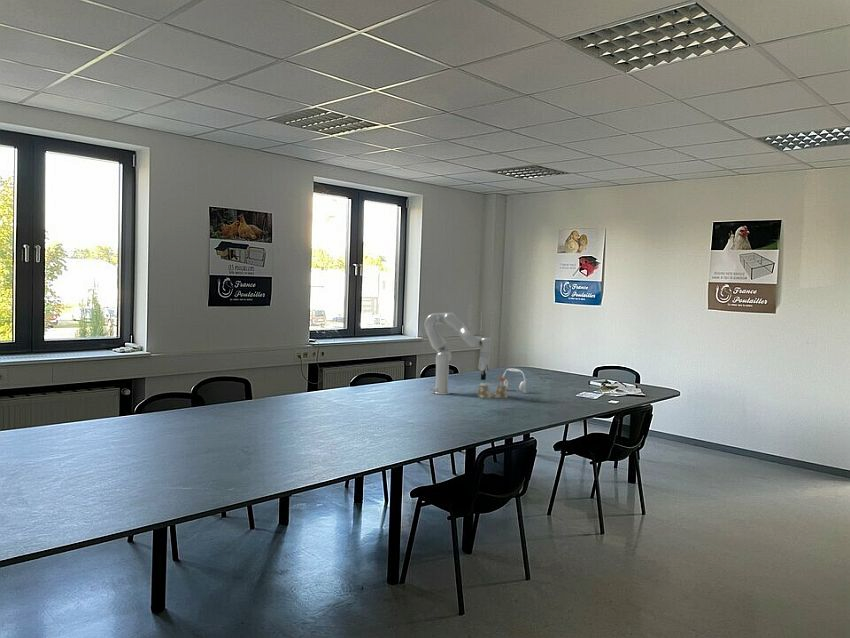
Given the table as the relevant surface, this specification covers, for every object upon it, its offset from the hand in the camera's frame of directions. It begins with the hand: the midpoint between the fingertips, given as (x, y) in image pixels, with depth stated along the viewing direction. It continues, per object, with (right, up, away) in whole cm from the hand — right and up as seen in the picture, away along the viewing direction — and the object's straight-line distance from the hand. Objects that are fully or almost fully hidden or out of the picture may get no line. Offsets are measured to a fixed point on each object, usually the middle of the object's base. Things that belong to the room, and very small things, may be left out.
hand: (483, 379), depth 464 cm
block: (+7, -13, +3) cm, 15 cm away
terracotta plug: (+14, -7, +4) cm, 16 cm away
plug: (0, -10, 0) cm, 10 cm away
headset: (+26, -12, +29) cm, 41 cm away
